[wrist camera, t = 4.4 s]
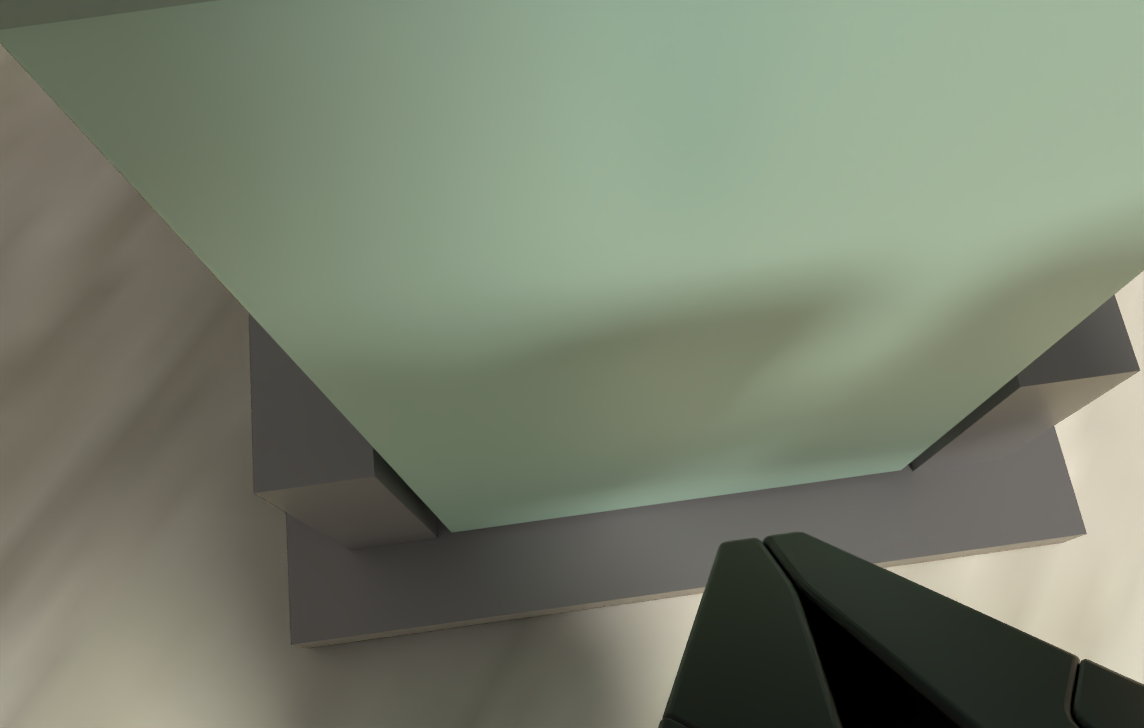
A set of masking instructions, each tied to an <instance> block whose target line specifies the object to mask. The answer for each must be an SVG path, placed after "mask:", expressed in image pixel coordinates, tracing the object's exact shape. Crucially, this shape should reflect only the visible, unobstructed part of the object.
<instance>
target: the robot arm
mask: <svg viewBox="0 0 1144 728" xmlns="http://www.w3.org/2000/svg"><path fill="white" fill-rule="evenodd" d="M658 728H1144V684H1142V683H1139V682H1137V681H1135V680H1132V679H1130V678H1128V677H1125V676H1123V675H1121V674H1119V673H1117V672H1114V671H1112V670H1110V669H1108V668H1106V667H1103V666H1101V665H1099V664H1097V663H1095V662H1092V661H1090V660H1087V659H1084V660H1082V661H1081V662H1080V659H1079V658H1078V657H1077V656H1076V655H1073V654H1071V653H1069V652H1067V651H1065V650H1062V649H1060V648H1058V647H1056V646H1054V645H1051V644H1049V643H1047V642H1045V641H1043V640H1040V639H1038V638H1036V637H1034V636H1032V635H1029V634H1027V633H1025V632H1023V631H1021V630H1018V629H1016V628H1014V627H1012V626H1009V625H1007V624H1005V623H1003V622H1001V621H998V620H996V619H994V618H992V617H990V616H987V615H985V614H983V613H981V612H979V611H976V610H974V609H972V608H970V607H968V606H965V605H963V604H961V603H959V602H957V601H954V600H952V599H950V598H948V597H946V596H943V595H941V594H939V593H937V592H935V591H932V590H930V589H928V588H926V587H923V586H921V585H919V584H917V583H915V582H912V581H910V580H908V579H906V578H904V577H901V576H899V575H897V574H895V573H893V572H890V571H888V570H886V569H884V568H882V567H879V566H877V565H875V564H873V563H871V562H868V561H866V560H864V559H862V558H860V557H857V556H855V555H853V554H851V553H848V552H846V551H844V550H842V549H840V548H837V547H835V546H833V545H831V544H829V543H826V542H824V541H822V540H820V539H818V538H815V537H813V536H811V535H809V534H807V533H804V532H798V531H797V532H790V533H783V534H776V535H769V536H767V537H765V538H764V539H763V541H761V540H760V539H758V538H748V539H740V540H733V541H725V542H723V543H721V544H720V546H719V548H718V550H717V553H716V556H715V560H714V563H713V566H712V569H711V572H710V575H709V578H708V581H707V584H706V587H705V590H704V593H703V596H702V599H701V602H700V605H699V608H698V611H697V614H696V617H695V620H694V623H693V627H692V630H691V633H690V636H689V639H688V642H687V645H686V648H685V651H684V654H683V657H682V660H681V663H680V666H679V669H678V672H677V675H676V678H675V681H674V684H673V687H672V690H671V694H670V697H669V700H668V703H667V706H666V709H665V712H664V715H663V719H662V720H661V722H660V724H659V727H658Z"/></svg>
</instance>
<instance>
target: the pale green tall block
mask: <svg viewBox="0 0 1144 728" xmlns="http://www.w3.org/2000/svg"><path fill="white" fill-rule="evenodd" d="M0 43H1V44H2V45H3V46H4V47H5V48H6V49H7V51H8V52H9V53H10V54H11V55H12V56H13V57H14V58H15V59H16V60H17V61H18V62H19V64H20V65H21V66H22V67H23V68H24V69H25V70H26V71H27V72H28V73H29V74H30V76H31V77H32V78H33V79H34V80H35V81H36V82H37V83H38V84H39V85H40V86H41V87H42V89H43V90H44V91H45V92H46V93H47V94H48V95H49V96H50V97H51V98H52V99H53V100H54V102H55V103H56V104H57V105H58V106H59V107H60V108H61V109H62V110H63V111H64V112H65V113H66V115H67V116H68V117H69V118H70V119H71V120H72V121H73V122H74V123H75V124H76V125H77V127H78V128H79V129H80V130H81V131H82V132H83V133H84V134H85V135H86V136H87V137H88V138H89V140H90V141H91V142H92V143H93V144H94V145H95V146H96V147H97V148H98V149H99V150H100V151H101V153H102V154H103V155H104V156H105V157H106V158H107V159H108V160H109V161H110V162H111V163H112V164H113V166H114V167H115V168H116V169H117V170H118V171H119V172H120V173H121V174H122V175H123V176H124V178H125V179H126V180H127V181H128V182H129V183H130V184H131V185H132V186H133V187H134V188H135V189H136V191H137V192H138V193H139V194H140V195H141V196H142V197H143V198H144V199H145V200H146V201H147V202H148V204H149V205H150V206H151V207H152V208H153V209H154V210H155V211H156V212H157V213H158V214H159V215H160V217H161V218H162V219H163V220H164V221H165V222H166V223H167V224H168V225H169V226H170V227H171V229H172V230H173V231H174V232H175V233H176V234H177V235H178V236H179V237H180V238H181V239H182V240H183V242H184V243H185V244H186V245H187V246H188V247H189V248H190V249H191V250H192V251H193V252H194V253H195V255H196V256H197V257H198V258H199V259H200V260H201V261H202V262H203V263H204V264H205V265H206V266H207V268H208V269H209V270H210V271H211V272H212V273H213V274H214V275H215V276H216V277H217V278H218V280H219V281H220V282H221V283H222V284H223V285H224V286H225V287H226V288H227V289H228V290H229V291H230V293H231V294H232V295H233V296H234V297H235V298H236V299H237V300H238V301H239V302H240V303H241V304H242V306H243V307H244V308H245V309H246V310H247V311H248V312H249V313H250V314H251V315H252V316H253V317H254V319H255V320H256V321H257V322H258V323H259V324H260V325H261V326H262V327H263V328H264V329H265V331H266V332H267V333H268V334H269V335H270V336H271V337H272V338H273V339H274V340H275V341H276V342H277V344H278V345H279V346H280V347H281V348H282V349H283V350H284V351H285V352H286V353H287V354H288V355H289V357H290V358H291V359H292V360H293V361H294V362H295V363H296V364H297V365H298V366H299V367H300V368H301V370H302V371H303V372H304V373H305V374H306V375H307V376H308V377H309V378H310V379H311V380H312V382H313V383H314V384H315V385H316V386H317V387H318V388H319V389H320V390H321V391H322V392H323V393H324V395H325V396H326V397H327V398H328V399H329V400H330V401H331V402H332V403H333V404H334V405H335V406H336V408H337V409H338V410H339V411H340V412H341V413H342V414H343V415H344V416H345V417H346V418H347V419H348V421H349V422H350V423H351V424H352V425H353V426H354V427H355V428H356V429H357V430H358V431H359V433H360V434H361V435H362V436H363V437H364V438H365V439H366V440H367V441H368V442H369V443H370V444H371V446H372V447H373V448H374V449H375V450H376V451H377V452H378V453H379V454H380V455H381V456H382V457H383V459H384V460H385V461H386V462H387V463H388V464H389V465H390V466H391V467H392V468H393V469H394V470H395V472H396V473H397V474H398V475H399V476H400V477H401V478H402V479H403V480H404V481H405V482H406V484H407V485H408V486H409V487H410V488H411V489H412V490H413V491H414V492H415V493H416V494H417V495H418V497H419V498H420V499H421V500H422V501H423V502H424V503H425V504H426V505H427V506H428V507H429V508H430V510H431V511H432V512H433V513H434V514H435V515H436V516H437V517H438V518H439V519H440V520H441V521H442V523H443V524H444V525H445V526H446V527H447V528H448V529H449V530H450V531H451V532H452V533H453V532H460V531H467V530H474V529H481V528H489V527H496V526H503V525H510V524H517V523H525V522H532V521H539V520H546V519H553V518H561V517H568V516H575V515H582V514H589V513H597V512H604V511H611V510H618V509H625V508H633V507H640V506H647V505H654V504H661V503H669V502H676V501H683V500H690V499H697V498H705V497H712V496H719V495H726V494H733V493H741V492H748V491H755V490H762V489H769V488H777V487H784V486H791V485H798V484H805V483H813V482H820V481H827V480H834V479H841V478H849V477H856V476H863V475H870V474H877V473H885V472H892V471H899V470H902V469H903V468H904V467H906V466H907V465H908V464H909V463H910V462H912V461H913V460H914V459H915V458H916V457H918V456H919V455H920V454H921V453H923V452H924V451H925V450H926V449H927V448H929V447H930V446H931V445H932V444H933V443H935V442H936V441H937V440H938V439H940V438H941V437H942V436H943V435H944V434H946V433H947V432H948V431H949V430H950V429H952V428H953V427H954V426H955V425H957V424H958V423H959V422H960V421H961V420H963V419H964V418H965V417H966V416H967V415H969V414H970V413H971V412H972V411H973V410H975V409H976V408H977V407H978V406H980V405H981V404H982V403H983V402H984V401H986V400H987V399H988V398H989V397H990V396H992V395H993V394H994V393H995V392H997V391H998V390H999V389H1000V388H1001V387H1003V386H1004V385H1005V384H1006V383H1007V382H1009V381H1010V380H1011V379H1012V378H1014V377H1015V376H1016V375H1017V374H1018V373H1020V372H1021V371H1022V370H1023V369H1024V368H1026V367H1027V366H1028V365H1029V364H1031V363H1032V362H1033V361H1034V360H1035V359H1037V358H1038V357H1039V356H1040V355H1041V354H1043V353H1044V352H1045V351H1046V350H1048V349H1049V348H1050V347H1051V346H1052V345H1054V344H1055V343H1056V342H1057V341H1058V340H1060V339H1061V338H1062V337H1063V336H1064V335H1066V334H1067V333H1068V332H1069V331H1071V330H1072V329H1073V328H1074V327H1075V326H1077V325H1078V324H1079V323H1080V322H1081V321H1083V320H1084V319H1085V318H1086V317H1088V316H1089V315H1090V314H1091V313H1092V312H1094V311H1095V310H1096V309H1097V308H1098V307H1100V306H1101V305H1102V304H1103V303H1105V302H1106V301H1107V300H1108V299H1109V298H1111V297H1112V296H1113V295H1114V294H1115V293H1117V292H1118V291H1119V290H1120V289H1122V288H1123V287H1124V286H1125V285H1126V284H1128V283H1129V282H1130V281H1131V280H1132V279H1134V278H1135V277H1136V276H1137V275H1138V274H1140V273H1141V272H1142V271H1143V270H1144V0H0Z"/></svg>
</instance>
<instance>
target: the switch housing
mask: <svg viewBox="0 0 1144 728" xmlns="http://www.w3.org/2000/svg"><path fill="white" fill-rule="evenodd" d="M249 335H250V371H251V408H252V444H253V481H254V494H256V495H258V496H259V497H261V498H263V499H264V500H266V501H268V502H269V503H271V504H273V505H274V506H276V507H278V508H279V509H281V510H283V511H284V512H286V523H287V549H288V575H289V602H290V628H291V645H295V646H300V647H305V648H312V647H319V646H326V645H333V644H340V643H348V642H355V641H362V640H369V639H376V638H383V637H391V636H398V635H405V634H412V633H419V632H426V631H434V630H441V629H448V628H455V627H462V626H469V625H477V624H484V623H491V622H498V621H505V620H512V619H520V618H527V617H534V616H541V615H548V614H555V613H563V612H570V611H577V610H584V609H591V608H598V607H606V606H613V605H620V604H627V603H634V602H641V601H649V600H656V599H663V598H670V597H677V596H684V595H692V594H699V593H704V590H705V587H706V584H707V581H708V578H709V575H710V572H711V569H712V566H713V563H714V560H715V556H716V553H717V550H718V548H719V546H720V544H721V543H723V542H725V541H733V540H740V539H748V538H758V539H760V540H761V541H763V539H764V538H765V537H767V536H769V535H776V534H783V533H790V532H797V531H798V532H804V533H807V534H809V535H811V536H813V537H815V538H818V539H820V540H822V541H824V542H826V543H829V544H831V545H833V546H835V547H837V548H840V549H842V550H844V551H846V552H848V553H851V554H853V555H855V556H857V557H860V558H862V559H864V560H866V561H868V562H871V563H873V564H875V565H877V566H879V567H882V568H885V567H892V566H900V565H907V564H914V563H921V562H928V561H935V560H943V559H950V558H957V557H964V556H971V555H978V554H986V553H993V552H1000V551H1007V550H1014V549H1021V548H1029V547H1036V546H1043V545H1050V544H1057V543H1063V542H1066V541H1069V540H1071V539H1074V538H1077V537H1079V536H1082V535H1085V534H1087V533H1086V530H1085V526H1084V523H1083V520H1082V517H1081V513H1080V510H1079V507H1078V503H1077V500H1076V497H1075V493H1074V490H1073V487H1072V484H1071V480H1070V477H1069V474H1068V470H1067V467H1066V464H1065V460H1064V457H1063V454H1062V450H1061V447H1060V444H1059V441H1058V437H1057V434H1056V431H1055V427H1054V425H1056V424H1057V423H1059V422H1060V421H1062V420H1064V419H1065V418H1067V417H1068V416H1070V415H1071V414H1073V413H1075V412H1076V411H1078V410H1079V409H1081V408H1082V407H1084V406H1085V405H1087V404H1089V403H1090V402H1092V401H1093V400H1095V399H1096V398H1098V397H1100V396H1101V395H1103V394H1104V393H1106V392H1107V391H1109V390H1110V389H1112V388H1114V387H1115V386H1117V385H1118V384H1120V383H1121V382H1123V381H1125V380H1126V379H1128V378H1129V377H1131V376H1132V375H1134V374H1136V373H1137V372H1139V371H1140V369H1139V366H1138V363H1137V360H1136V357H1135V354H1134V351H1133V348H1132V345H1131V342H1130V339H1129V336H1128V333H1127V330H1126V327H1125V324H1124V321H1123V319H1122V316H1121V313H1120V310H1119V307H1118V304H1117V301H1116V298H1115V295H1113V296H1112V297H1111V298H1109V299H1108V300H1107V301H1106V302H1105V303H1103V304H1102V305H1101V306H1100V307H1098V308H1097V309H1096V310H1095V311H1094V312H1092V313H1091V314H1090V315H1089V316H1088V317H1086V318H1085V319H1084V320H1083V321H1081V322H1080V323H1079V324H1078V325H1077V326H1075V327H1074V328H1073V329H1072V330H1071V331H1069V332H1068V333H1067V334H1066V335H1064V336H1063V337H1062V338H1061V339H1060V340H1058V341H1057V342H1056V343H1055V344H1054V345H1052V346H1051V347H1050V348H1049V349H1048V350H1046V351H1045V352H1044V353H1043V354H1041V355H1040V356H1039V357H1038V358H1037V359H1035V360H1034V361H1033V362H1032V363H1031V364H1029V365H1028V366H1027V367H1026V368H1024V369H1023V370H1022V371H1021V372H1020V373H1018V374H1017V375H1016V376H1015V377H1014V378H1012V379H1011V380H1010V381H1009V382H1007V383H1006V384H1005V385H1004V386H1003V387H1001V388H1000V389H999V390H998V391H997V392H995V393H994V394H993V395H992V396H990V397H989V398H988V399H987V400H986V401H984V402H983V403H982V404H981V405H980V406H978V407H977V408H976V409H975V410H973V411H972V412H971V413H970V414H969V415H967V416H966V417H965V418H964V419H963V420H961V421H960V422H959V423H958V424H957V425H955V426H954V427H953V428H952V429H950V430H949V431H948V432H947V433H946V434H944V435H943V436H942V437H941V438H940V439H938V440H937V441H936V442H935V443H933V444H932V445H931V446H930V447H929V448H927V449H926V450H925V451H924V452H923V453H921V454H920V455H919V456H918V457H916V458H915V459H914V460H913V461H912V462H910V463H909V464H908V465H907V466H906V467H904V468H903V469H902V470H899V471H892V472H885V473H877V474H870V475H863V476H856V477H849V478H841V479H834V480H827V481H820V482H813V483H805V484H798V485H791V486H784V487H777V488H769V489H762V490H755V491H748V492H741V493H733V494H726V495H719V496H712V497H705V498H697V499H690V500H683V501H676V502H669V503H661V504H654V505H647V506H640V507H633V508H625V509H618V510H611V511H604V512H597V513H589V514H582V515H575V516H568V517H561V518H553V519H546V520H539V521H532V522H525V523H517V524H510V525H503V526H496V527H489V528H481V529H474V530H467V531H460V532H453V533H452V532H451V531H450V530H449V529H448V528H447V527H446V526H445V525H444V524H443V523H442V521H441V520H440V519H439V518H438V517H437V516H436V515H435V514H434V513H433V512H432V511H431V510H430V508H429V507H428V506H427V505H426V504H425V503H424V502H423V501H422V500H421V499H420V498H419V497H418V495H417V494H416V493H415V492H414V491H413V490H412V489H411V488H410V487H409V486H408V485H407V484H406V482H405V481H404V480H403V479H402V478H401V477H400V476H399V475H398V474H397V473H396V472H395V470H394V469H393V468H392V467H391V466H390V465H389V464H388V463H387V462H386V461H385V460H384V459H383V457H382V456H381V455H380V454H379V453H378V452H377V451H376V450H375V449H374V448H373V447H372V446H371V444H370V443H369V442H368V441H367V440H366V439H365V438H364V437H363V436H362V435H361V434H360V433H359V431H358V430H357V429H356V428H355V427H354V426H353V425H352V424H351V423H350V422H349V421H348V419H347V418H346V417H345V416H344V415H343V414H342V413H341V412H340V411H339V410H338V409H337V408H336V406H335V405H334V404H333V403H332V402H331V401H330V400H329V399H328V398H327V397H326V396H325V395H324V393H323V392H322V391H321V390H320V389H319V388H318V387H317V386H316V385H315V384H314V383H313V382H312V380H311V379H310V378H309V377H308V376H307V375H306V374H305V373H304V372H303V371H302V370H301V368H300V367H299V366H298V365H297V364H296V363H295V362H294V361H293V360H292V359H291V358H290V357H289V355H288V354H287V353H286V352H285V351H284V350H283V349H282V348H281V347H280V346H279V345H278V344H277V342H276V341H275V340H274V339H273V338H272V337H271V336H270V335H269V334H268V333H267V332H266V331H265V329H264V328H263V327H262V326H261V325H260V324H259V323H258V322H257V321H256V320H255V319H254V317H253V316H252V315H251V314H250V313H249Z"/></svg>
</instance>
